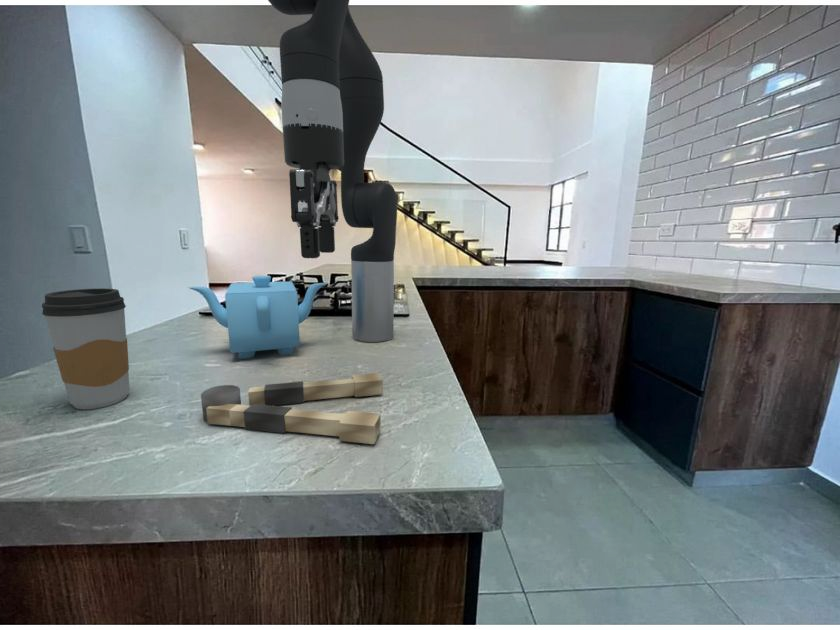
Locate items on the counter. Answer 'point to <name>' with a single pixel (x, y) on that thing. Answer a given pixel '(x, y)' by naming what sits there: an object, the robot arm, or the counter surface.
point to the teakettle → (261, 314)
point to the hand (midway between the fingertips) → (319, 255)
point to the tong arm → (316, 390)
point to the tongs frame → (286, 417)
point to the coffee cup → (89, 345)
